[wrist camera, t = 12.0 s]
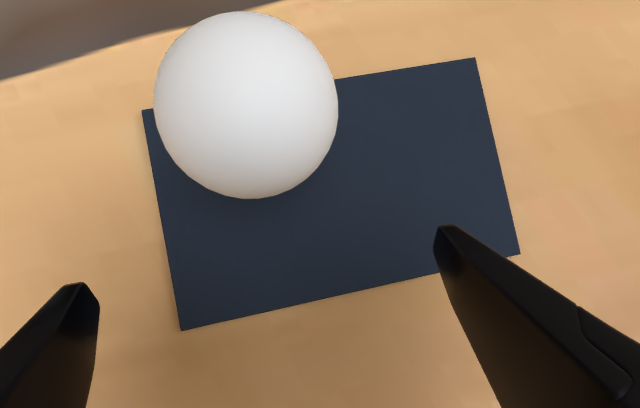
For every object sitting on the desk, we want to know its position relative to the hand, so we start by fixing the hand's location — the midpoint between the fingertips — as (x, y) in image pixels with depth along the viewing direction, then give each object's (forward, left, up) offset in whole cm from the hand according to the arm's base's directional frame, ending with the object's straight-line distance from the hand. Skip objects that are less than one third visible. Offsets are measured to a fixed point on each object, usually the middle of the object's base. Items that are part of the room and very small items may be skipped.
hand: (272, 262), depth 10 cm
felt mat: (+4, -3, -11) cm, 12 cm away
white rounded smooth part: (+5, +2, -11) cm, 12 cm away
